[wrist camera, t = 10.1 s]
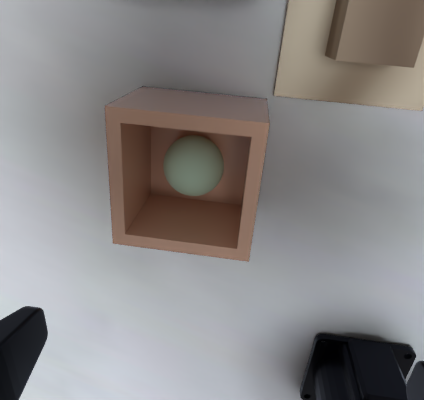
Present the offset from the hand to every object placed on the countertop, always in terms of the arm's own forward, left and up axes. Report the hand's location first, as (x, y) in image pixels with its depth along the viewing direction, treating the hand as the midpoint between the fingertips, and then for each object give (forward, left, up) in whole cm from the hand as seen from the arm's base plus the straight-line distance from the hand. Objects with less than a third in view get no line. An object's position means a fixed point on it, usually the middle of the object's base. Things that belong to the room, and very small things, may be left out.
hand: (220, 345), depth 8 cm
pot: (+1, +2, -12) cm, 12 cm away
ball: (+1, +2, -12) cm, 12 cm away
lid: (+7, -5, -13) cm, 16 cm away
